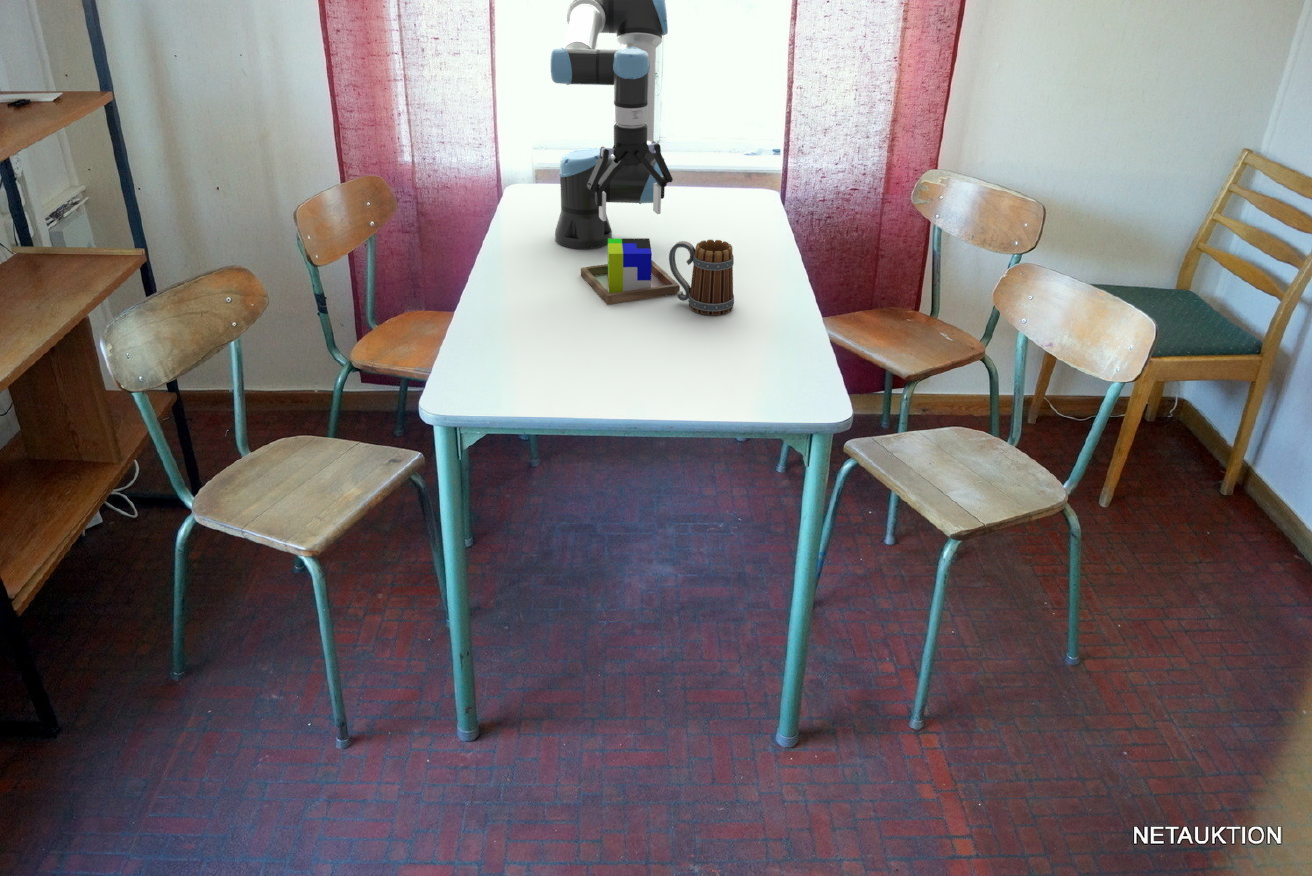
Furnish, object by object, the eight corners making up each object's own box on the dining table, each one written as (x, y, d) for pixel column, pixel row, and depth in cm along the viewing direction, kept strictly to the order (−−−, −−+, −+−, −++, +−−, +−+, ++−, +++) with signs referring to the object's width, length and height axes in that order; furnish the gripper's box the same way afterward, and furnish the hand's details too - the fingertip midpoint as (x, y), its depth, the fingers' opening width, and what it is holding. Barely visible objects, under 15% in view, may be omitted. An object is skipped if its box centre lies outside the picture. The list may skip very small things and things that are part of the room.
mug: (738, 302, 239) (743, 241, 232) (726, 319, 231) (730, 257, 223) (675, 292, 244) (677, 232, 236) (661, 309, 235) (662, 247, 227)
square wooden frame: (580, 276, 251) (580, 267, 250) (649, 266, 257) (649, 258, 256) (607, 305, 236) (607, 296, 235) (679, 294, 243) (679, 285, 242)
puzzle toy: (650, 293, 243) (651, 253, 238) (608, 293, 242) (608, 253, 237) (648, 277, 251) (649, 238, 246) (607, 277, 251) (607, 238, 246)
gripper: (583, 133, 220) (584, 227, 231) (688, 123, 228) (685, 214, 239) (571, 124, 225) (573, 216, 237) (675, 114, 234) (672, 204, 245)
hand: (629, 215), depth 238 cm, fingers open, 13 cm apart
